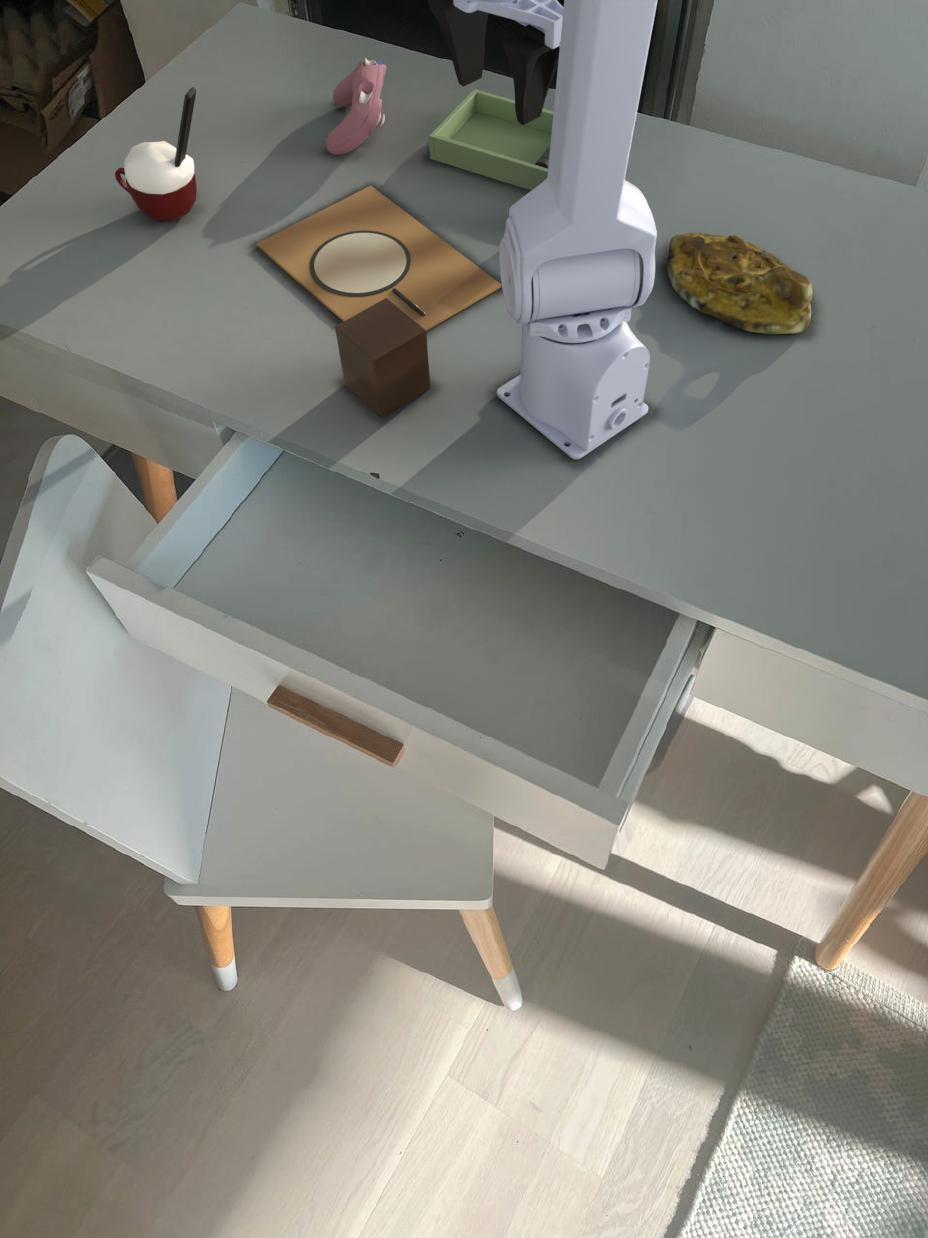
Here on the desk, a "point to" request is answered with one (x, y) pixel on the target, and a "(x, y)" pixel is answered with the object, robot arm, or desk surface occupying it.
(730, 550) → the desk surface
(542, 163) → the marker
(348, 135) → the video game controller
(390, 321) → the tall brown wooden block
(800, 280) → the stuffed pastry
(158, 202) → the cocoa
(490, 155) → the tray
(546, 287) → the robot arm
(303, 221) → the drawing pad
